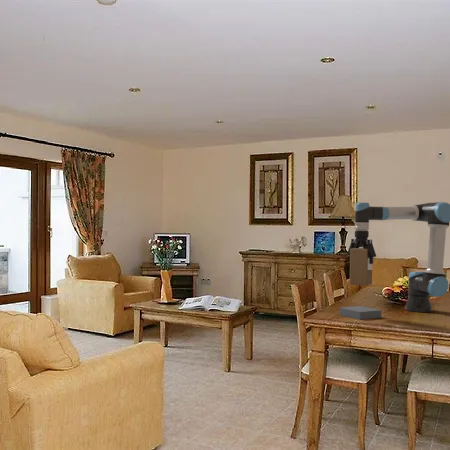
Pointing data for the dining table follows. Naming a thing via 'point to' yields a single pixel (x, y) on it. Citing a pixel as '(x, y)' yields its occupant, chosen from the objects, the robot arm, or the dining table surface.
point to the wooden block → (359, 267)
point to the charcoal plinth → (360, 312)
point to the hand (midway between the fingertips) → (361, 268)
